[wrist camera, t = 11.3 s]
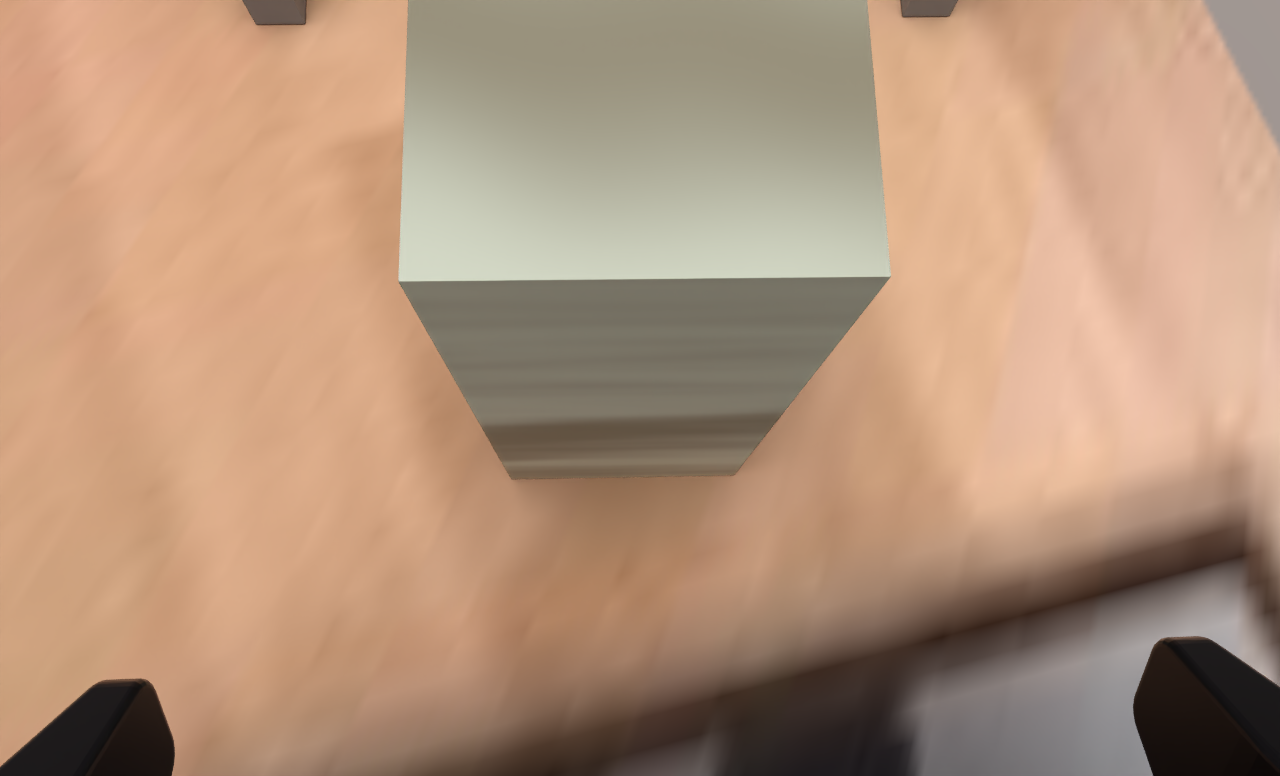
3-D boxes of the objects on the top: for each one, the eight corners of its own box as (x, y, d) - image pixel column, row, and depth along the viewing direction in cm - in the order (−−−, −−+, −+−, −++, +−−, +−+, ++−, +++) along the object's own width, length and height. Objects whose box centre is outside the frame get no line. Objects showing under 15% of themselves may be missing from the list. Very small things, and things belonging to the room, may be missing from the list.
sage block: (734, 475, 23) (890, 276, 10) (511, 479, 23) (398, 281, 10) (724, 266, 24) (855, -138, 12) (512, 268, 24) (413, -140, 12)
